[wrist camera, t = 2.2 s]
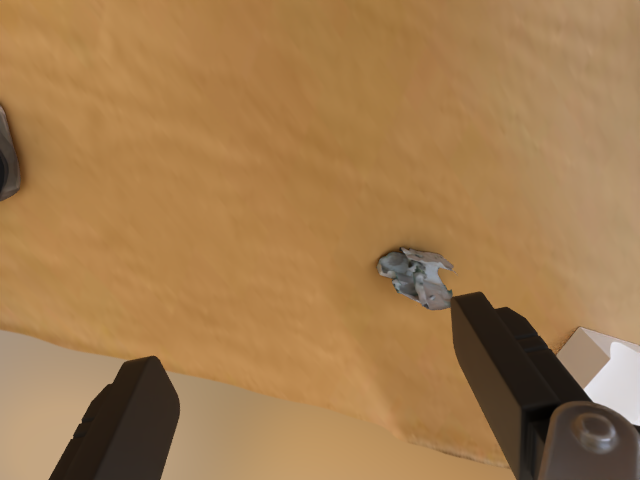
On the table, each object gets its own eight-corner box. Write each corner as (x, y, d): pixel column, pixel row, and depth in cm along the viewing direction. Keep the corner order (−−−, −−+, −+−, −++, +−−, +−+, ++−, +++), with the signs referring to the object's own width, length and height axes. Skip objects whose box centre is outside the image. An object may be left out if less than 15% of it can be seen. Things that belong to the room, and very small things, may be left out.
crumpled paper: (443, 287, 43) (468, 330, 36) (373, 268, 41) (387, 310, 35) (462, 253, 41) (492, 292, 35) (389, 232, 39) (407, 269, 33)
